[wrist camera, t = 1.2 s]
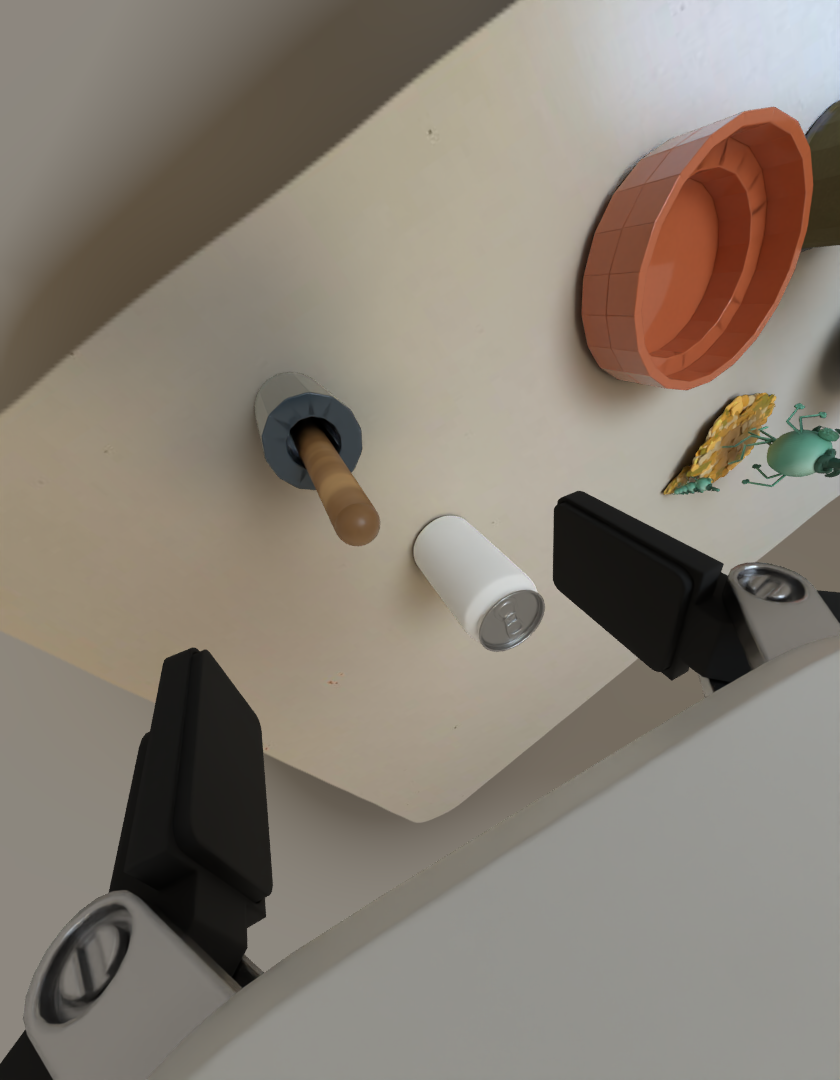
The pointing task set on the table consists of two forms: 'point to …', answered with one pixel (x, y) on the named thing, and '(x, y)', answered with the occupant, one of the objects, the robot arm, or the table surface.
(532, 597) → the can
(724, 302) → the bowl
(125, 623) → the table surface
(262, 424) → the utensil pot
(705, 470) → the insect on leaf figurine
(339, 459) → the stick
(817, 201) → the canister
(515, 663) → the table surface
